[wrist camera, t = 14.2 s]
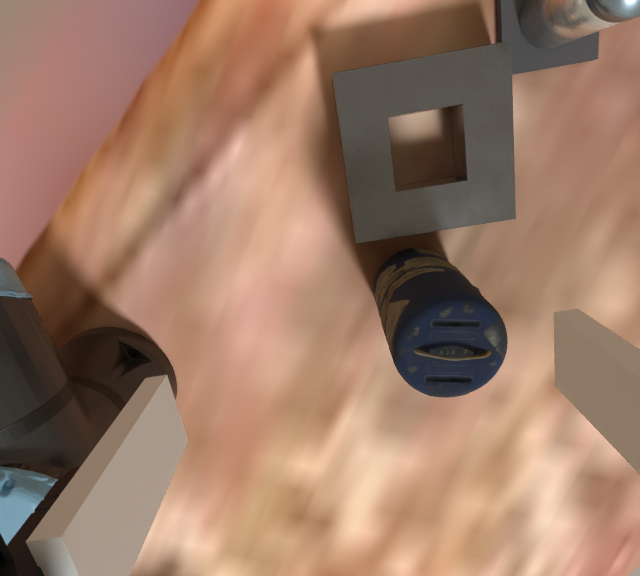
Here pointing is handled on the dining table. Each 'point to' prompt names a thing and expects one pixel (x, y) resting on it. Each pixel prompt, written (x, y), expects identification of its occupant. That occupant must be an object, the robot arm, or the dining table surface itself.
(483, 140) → the housing
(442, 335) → the canister
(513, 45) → the coaster
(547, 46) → the silver metal cylinder
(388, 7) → the dining table surface
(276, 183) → the dining table surface
